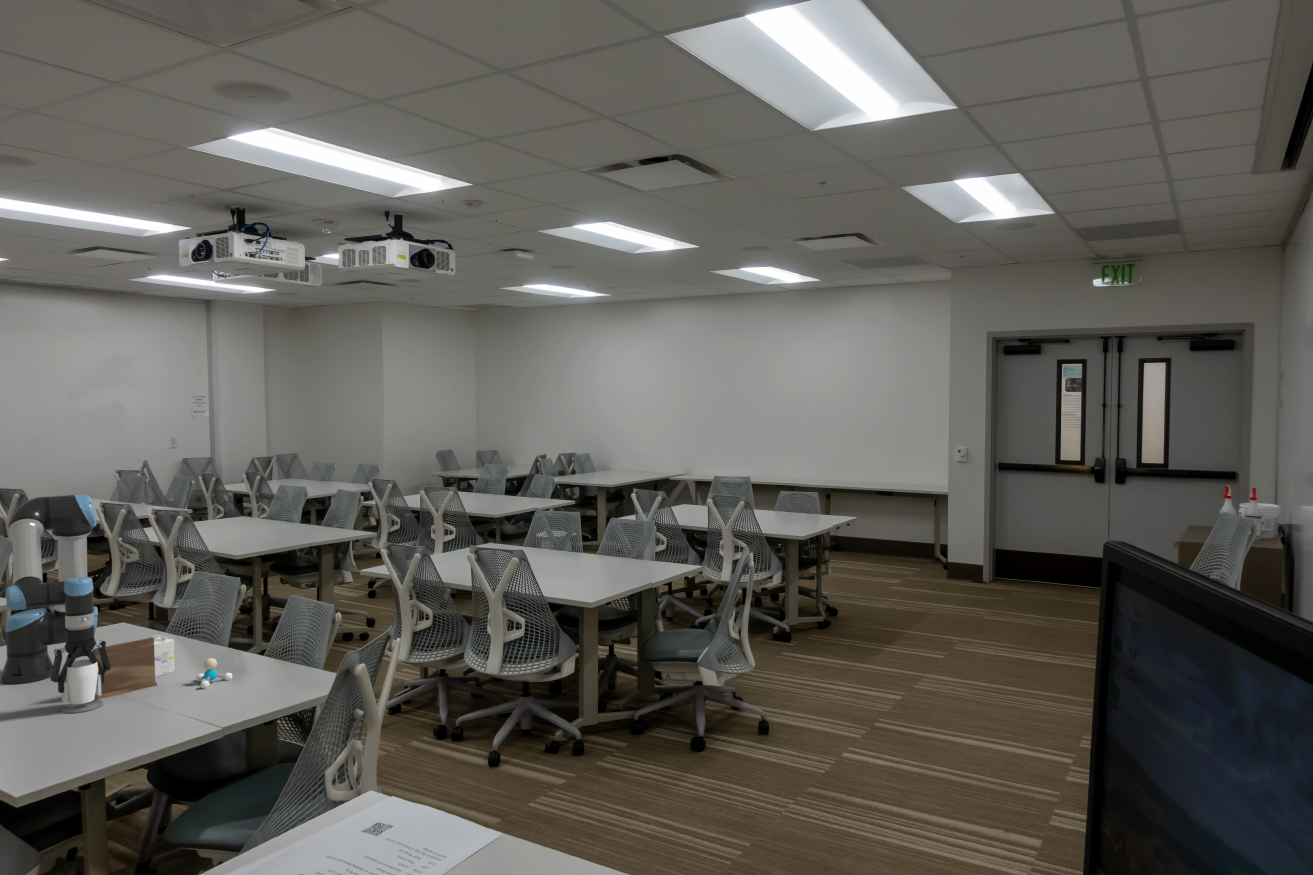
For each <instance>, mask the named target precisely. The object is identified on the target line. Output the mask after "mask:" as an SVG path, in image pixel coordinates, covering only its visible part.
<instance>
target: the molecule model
mask: <svg viewBox="0 0 1313 875" xmlns="http://www.w3.org/2000/svg"><path fill="white" fill-rule="evenodd" d="M217 666H218V661H217V659H215V658H214V657H209V658H207V659H206V660H204V663H203V667H204V668H205V669H206V671H205V672H204V673H198V674H197V675H196V678H195V680H196V681H197V682H200V685H199V686H200V688H201V689H204V690H205V689H208V688H209V687H210V682H211V681H214V680H215V679H216V678H219V679H220V678H221V679H224V681H230V680H232V679H233V673H232V672H226V673H224V674H220V673H218V672H217V670H216V669H215V668H216V667H217Z"/></svg>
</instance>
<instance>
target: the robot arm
mask: <svg viewBox="0 0 1313 875" xmlns="http://www.w3.org/2000/svg"><path fill="white" fill-rule="evenodd" d="M93 504H94V503H93V500H92V498H91V496H90V495H88V494H68V495H55V496H39V497H38V496H37V497H34V498H30V499H29V500H26V502H24V503H22V504H20V506H19V507H18V508H16V510H14V512H13V513H12V514H11V516H10V519H9V521H8V525H7V526H8V528H7V530H8V534H9V536H10V537H11V538H12V574H13V575H12V576H13V577H12V578H13V586H8V587H6V589H5V597H6V598H5V600H6V602H5V603H6V609H7V610H9V611H21V612H16V613H15V614H12V615H11V616H9V617H8V618H7V619H6V621H5V626H6V627H5V630H4V631H5V634H6V638H5V639H6V660H5V664H4V667H3V669H2V672H1V676H0V677H1V679H0V680H1V683H2V684H7V685H15V684H16V685H18V684H19V685H20V684H28V683H33V682H38V681H42V680H45V679H49V678H50V681H51V682H52V683H57V692H58V693H60V694H61V703H63V704H69V699H68V685H67V682H66V681H65V679H66V677H67V667H70V668H71V666H72V664H73V662H74V661H76V660H77V659H78V658H79V659H80V658H81V657H88V660H89V659H90V661H91V663H92V664H94V663H96V662H97V663H98V677H97V684H96V692H95V694H97V695H101V684H102V683H104V674H105V672H106V671H109V670H110V669H111V667H110V664H109V660H108V656H107V653H106V649H105V647H107V646H106V644H107V642H106V641H105V640H102V639H100V640H96V639H95V635H96V631H97V628H98V616H99V614H98V613H99V610H98V607H97V606H94V585H93V584H94V583H93V578H91V577H88V540H87V538H88V536H89V535H90V534H91V533H92V531H93V530H92V528H95V527H96V526H97V520H96V515H95V514H96V513H95V508H94V505H93ZM44 531H51V534H52V536H53V537H55V539H57V564H58V565H57V567H58V568H57V571H58V573H57V574H58V577H57V578H58V581H52V582H44V581H43V567H42V564H43V562H42V547H41V546H42V545H41V535H42V534H43V532H44ZM45 607H46V608H47V607H53V611H48V610H47V609H46V608H45ZM61 644H65V645H64V647H61V648H55V649H54V650H53V653H54V660H53V662H52V660H51V658H50V657H51V656H50V655H49V652H48V646H53V645H61ZM95 647H96V648H98V650H99V654H100V657H101V661H102V664H103V668H102V666H101V665H100V663H99V662H98V660H97V659H96V657H95V655H94V653H93V649H95ZM65 652H66V653H68V654H67V656H66V659H65V662H64V664H63V666H62V660H63V656H64V654H65ZM61 666H62V668H61Z"/></svg>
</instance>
